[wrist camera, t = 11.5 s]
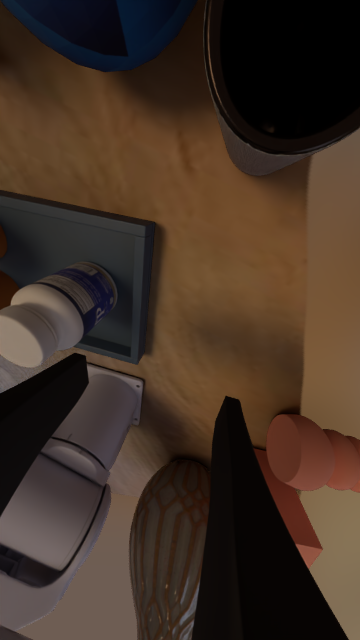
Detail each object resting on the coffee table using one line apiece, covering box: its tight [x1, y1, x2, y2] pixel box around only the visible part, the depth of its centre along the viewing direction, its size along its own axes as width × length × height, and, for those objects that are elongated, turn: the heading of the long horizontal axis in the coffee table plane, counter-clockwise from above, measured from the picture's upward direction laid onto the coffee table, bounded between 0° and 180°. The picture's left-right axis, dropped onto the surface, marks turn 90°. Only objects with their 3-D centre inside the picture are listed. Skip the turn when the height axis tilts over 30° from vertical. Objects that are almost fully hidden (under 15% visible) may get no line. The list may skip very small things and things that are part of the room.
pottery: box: [254, 414, 360, 569], centre depth 24 cm, size 18×10×10 cm
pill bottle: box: [0, 262, 118, 368], centre depth 17 cm, size 5×5×9 cm
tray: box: [0, 190, 155, 365], centre depth 21 cm, size 14×21×2 cm, turn 81°
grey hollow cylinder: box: [203, 0, 360, 176], centre depth 8 cm, size 4×4×10 cm
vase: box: [129, 459, 211, 640], centre depth 28 cm, size 13×13×18 cm
